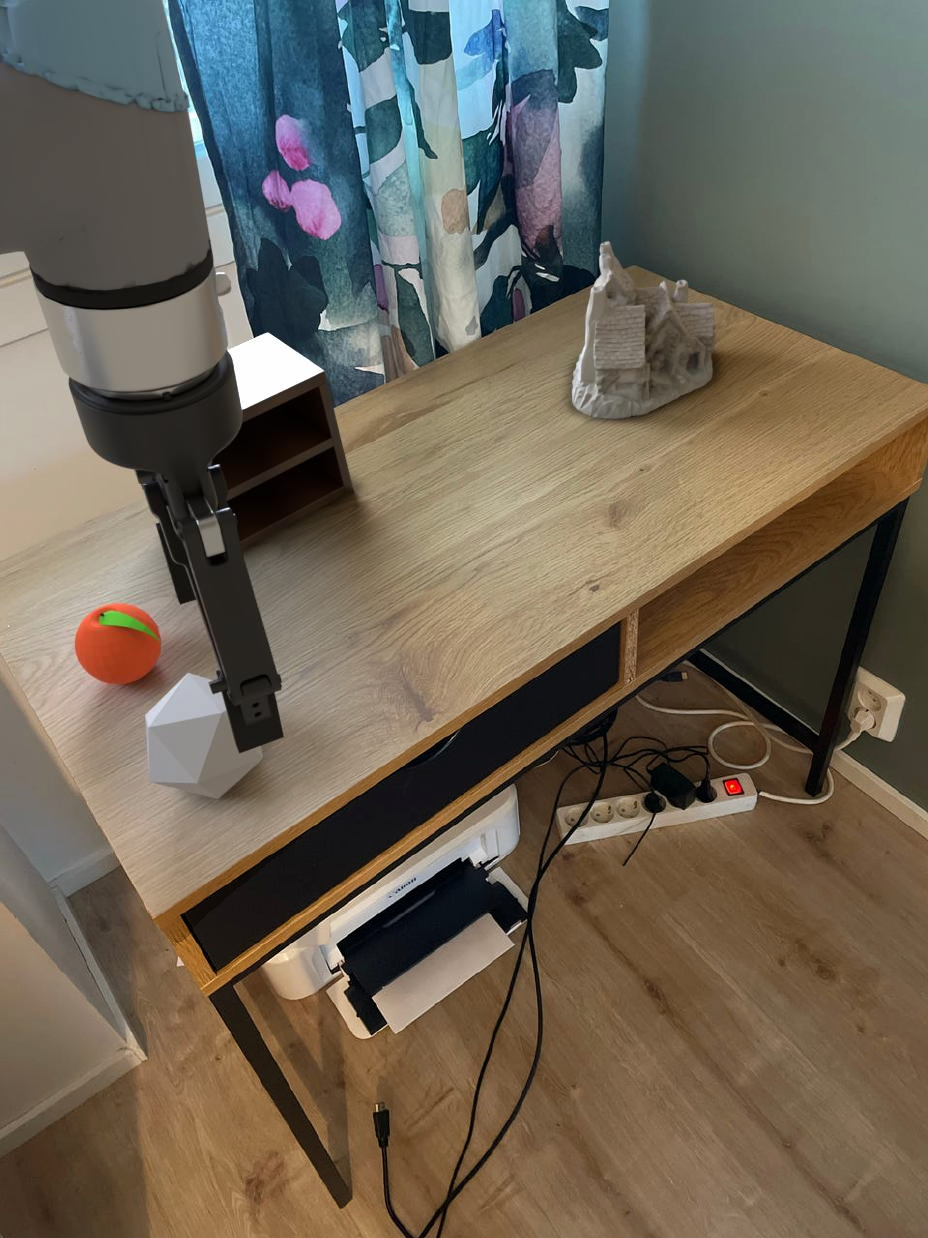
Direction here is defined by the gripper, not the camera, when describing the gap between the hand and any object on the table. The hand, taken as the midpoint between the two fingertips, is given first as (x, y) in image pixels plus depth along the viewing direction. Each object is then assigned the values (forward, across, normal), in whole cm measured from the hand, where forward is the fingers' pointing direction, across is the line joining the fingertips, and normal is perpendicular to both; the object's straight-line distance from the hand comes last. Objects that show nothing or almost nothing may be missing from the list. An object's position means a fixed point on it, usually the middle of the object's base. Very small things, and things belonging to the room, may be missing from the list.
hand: (226, 663), depth 57 cm
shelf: (+16, +36, -11) cm, 41 cm away
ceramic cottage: (+11, +32, -56) cm, 65 cm away
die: (+16, +5, +2) cm, 17 cm away
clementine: (+17, +18, +5) cm, 26 cm away
